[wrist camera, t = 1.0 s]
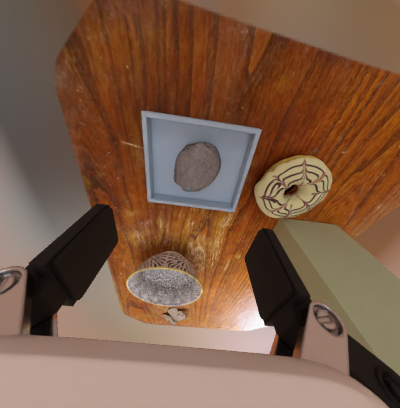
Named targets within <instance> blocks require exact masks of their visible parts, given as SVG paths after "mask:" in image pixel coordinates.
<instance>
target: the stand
mask: <svg viewBox="0 0 400 408" xmlns="http://www.w3.org/2000/svg"><path fill="white" fill-rule="evenodd" d="M273 231H274V233H275V234H276V236H277V238H278V240H279V241H280V243H281V245H282V247H283V248H284V250H285V252H286V254H287V255H288V257H289V259H290V261H291V262H292V264H293V266H294V268H295V269H296V271H297V273H298V275H299V276H300V278H301V280H302V282H303V283H304V285H305V287H306V289H307V290H308V292H309V294H310V296H311V297H310V299H311V300H312V301H320V302H323V303H325V304H326V305H328V306H329V307H331V308H332V309H333V310H334V311H335V312H336V313H337V314H338V315H339V316H340V318H341V319H342V321H343V322H344V324H345V326H346V329H347V333H348V334H349V335H350V336H351V337H352V338H354V339H355V340H356V341H357V342H359V343H360V344H361V345H362V346H364V347H365V348H366V349H367V350H369V351H370V352H371V353H372V354H374V355H375V356H376V357H377V358H379V359H380V360H381V361H382V362H384V363H385V364H386V365H387V366H389V367H390V368H391V369H393V370H394V371H395V372H396V373H397V374H398V375H399V376H400V279H399V278H397V277H396V276H395V275H394V274H393V273H391V271H389V270H388V269H387V268H386V267H385V266H384V265H382V264H381V263H380V262H379V261H378V260H377V259H375V258H374V257H373V256H372V255H371V254H370V253H369V252H367V251H366V250H365V249H364V248H363V247H362V246H361V245H359V244H358V243H357V242H356V241H355V240H354V239H352V238H351V237H350V236H349V235H348V234H347V233H346V232H344V231H343V230H342V229H341V228H340V227H339V226H337V225H335V224H327V223H319V222H311V221H302V220H294V219H286V218H279V220H278V222H277V224H276V225H275V227H274V229H273Z"/></svg>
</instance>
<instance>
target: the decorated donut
mask: <svg viewBox="0 0 400 408" xmlns="http://www.w3.org/2000/svg"><path fill="white" fill-rule="evenodd" d="M331 183H332V175H331V172H330V170H329V169H328V168H327V167H326V165H325V164H324V163H323V162H322V161H321V160H319V159H317V158H316V157H314V156H304V155H298V156H293V157H290V158H286V159H283V160H281V161H279V162H277V163H276V164H274V165H273V166H271V167H270V168H269V169H268V170H267V171H266V172H265V174H264V175H263V176H262V178H261V179H260V181H259V182H258V183H257V184H256V185H255V188H254V194H255V197H256V202H257V204H258V206H259V208H260V209H261V211H263V212H264V213H265V214H266V215H267V216H269V217H272V218H288V217H295V216H298V215H301V214H303V213H305V212H308V211H310V210H311V209H312V208H314V207H315V206H316V205H318V204H319V203H320V202H321V201H322V200H323V199H324V198H325V197H326V195H327V193H328V192H329V190H330V187H331ZM294 184H295V185H294ZM292 185H294V188H293V189H292V190H290V191H289V192H287V193H284V192H285V190H286V189H288V188H289V187H291V186H292Z"/></svg>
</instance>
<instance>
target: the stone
mask: <svg viewBox="0 0 400 408" xmlns="http://www.w3.org/2000/svg"><path fill="white" fill-rule="evenodd" d="M220 167H221V158H220V154H219V151H218V150H217V148H216V147H215V146H214V145H212V144H210V143H206V142H197V143H193V144H188V145H186V146H185V147H184V148H183V150H182V151H181V152H180V153H179V154H178V156H177V158H176V162H175V169H174V182H175V183H176V184H178V185H179V186H181V188H182V189H183V190H184V191H187V192H196V191H200V190H202V189H203V188H205V187H207V186H208V185H210V184H211V183H212V182H213V181H214V180H215V178H216V177H217V175H218V173H219V171H220Z"/></svg>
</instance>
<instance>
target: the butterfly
mask: <svg viewBox="0 0 400 408" xmlns="http://www.w3.org/2000/svg"><path fill="white" fill-rule="evenodd" d="M168 313H169V314H170V316H171V317H170V316H168V315H165V314H164V315H163V316H164V317H165V318H166V319H167V320H168V322H170V323H171V324H172V325H175V324H176V322H177V321H181V320H184V319H186V318H187V317H188V316H187V314H186V313H185V312H183V311H180V310H179V311H178V309H177V308H175V307H174V308H171V309H169V310H168Z"/></svg>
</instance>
